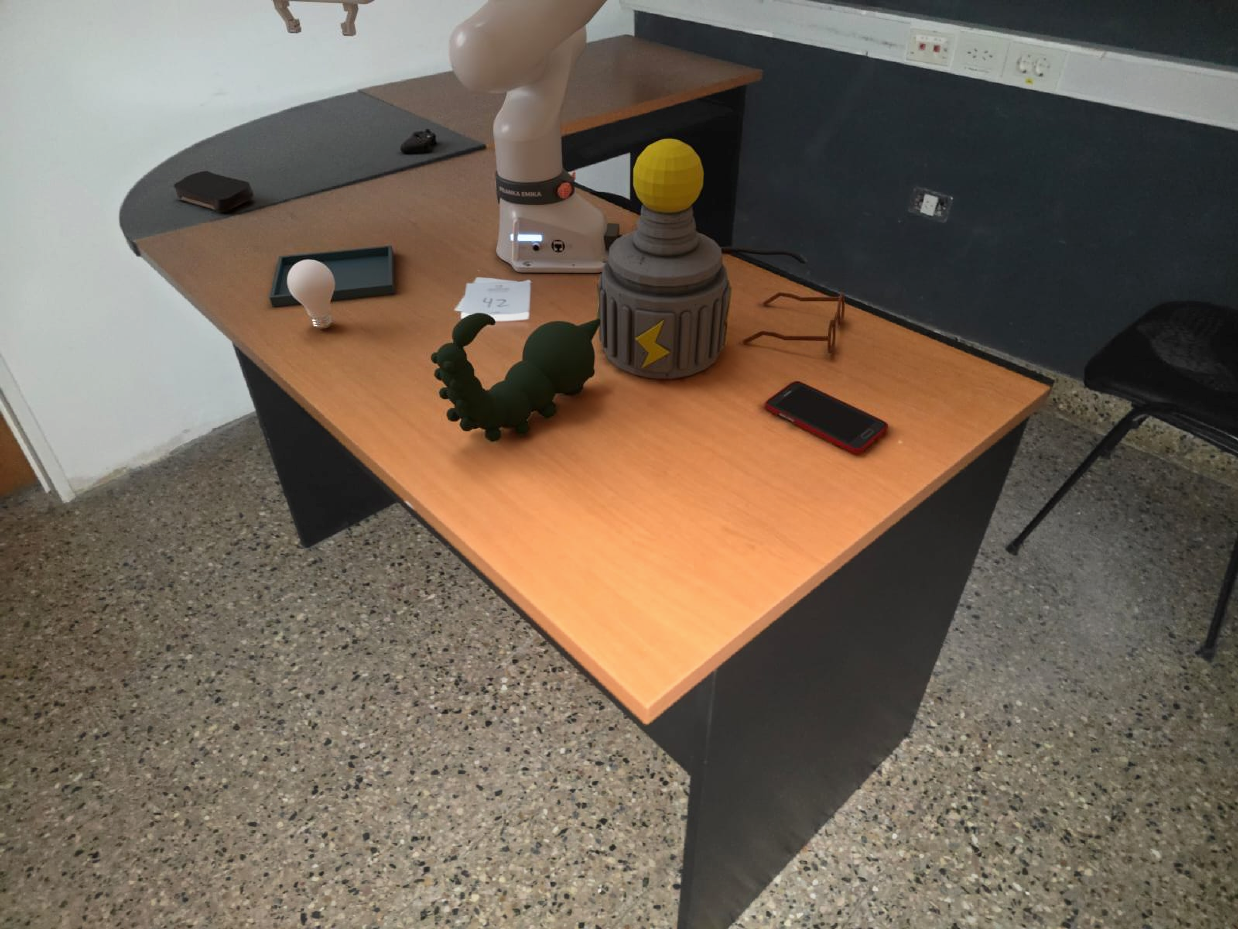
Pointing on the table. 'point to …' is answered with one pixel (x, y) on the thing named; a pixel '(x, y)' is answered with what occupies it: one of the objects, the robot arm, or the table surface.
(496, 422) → the toy figurine
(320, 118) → the table surface
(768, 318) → the table surface
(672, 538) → the table surface
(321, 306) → the light bulb
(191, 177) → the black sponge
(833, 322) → the glasses
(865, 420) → the cell phone
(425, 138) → the game controller
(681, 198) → the decorative lamp
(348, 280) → the tray
